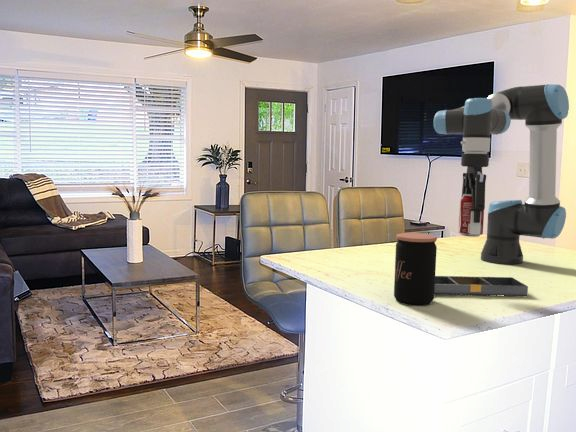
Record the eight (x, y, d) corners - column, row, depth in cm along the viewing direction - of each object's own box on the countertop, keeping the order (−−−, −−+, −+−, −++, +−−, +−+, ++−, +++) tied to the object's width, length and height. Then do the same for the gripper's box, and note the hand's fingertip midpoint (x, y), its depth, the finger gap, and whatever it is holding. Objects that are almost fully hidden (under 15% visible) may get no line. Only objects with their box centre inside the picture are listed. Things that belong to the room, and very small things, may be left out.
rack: (511, 287, 169) (512, 276, 169) (527, 297, 158) (528, 286, 157) (413, 285, 170) (414, 274, 169) (422, 294, 158) (423, 283, 157)
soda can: (484, 237, 158) (486, 195, 157) (459, 236, 160) (461, 194, 159) (480, 234, 165) (483, 194, 164) (457, 233, 166) (459, 193, 165)
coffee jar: (389, 296, 156) (391, 232, 154) (426, 296, 157) (429, 232, 155) (400, 306, 145) (402, 238, 143) (439, 306, 146) (443, 238, 144)
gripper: (452, 152, 170) (448, 227, 172) (473, 152, 150) (468, 236, 153) (477, 153, 170) (472, 228, 172) (501, 153, 150) (495, 237, 152)
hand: (470, 232), depth 162 cm, fingers closed on soda can, 7 cm apart
